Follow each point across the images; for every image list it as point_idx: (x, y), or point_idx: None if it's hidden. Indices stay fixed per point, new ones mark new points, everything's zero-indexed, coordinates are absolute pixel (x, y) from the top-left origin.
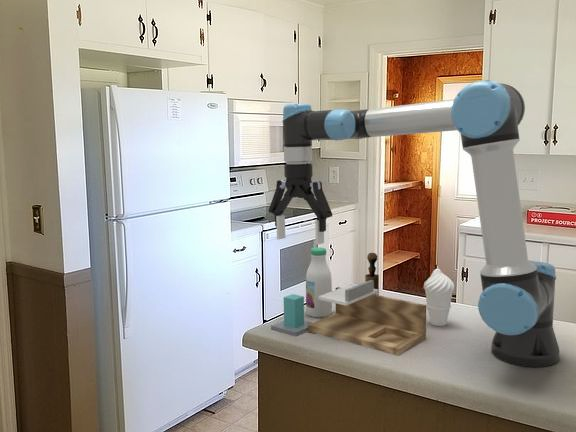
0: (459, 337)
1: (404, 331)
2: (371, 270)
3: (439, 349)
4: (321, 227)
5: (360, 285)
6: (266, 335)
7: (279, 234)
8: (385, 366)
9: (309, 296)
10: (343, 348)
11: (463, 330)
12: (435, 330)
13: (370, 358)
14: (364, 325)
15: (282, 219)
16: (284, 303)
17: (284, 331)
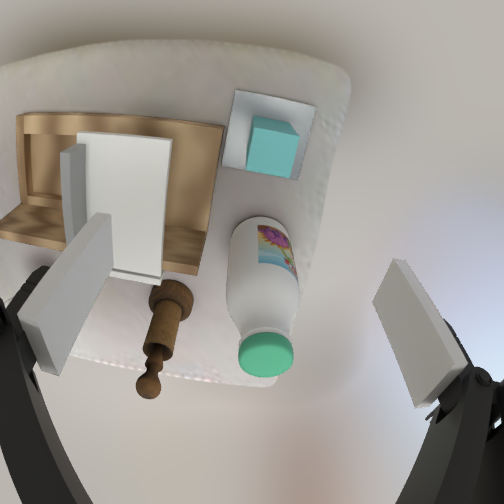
0: (10, 240)
1: (45, 198)
2: (151, 357)
3: (2, 181)
4: (33, 286)
5: (64, 214)
6: (303, 65)
7: (401, 279)
8: (25, 67)
9: (273, 240)
10: (110, 84)
11: (22, 269)
12: (43, 252)
13: (53, 77)
14: None
15: (419, 371)
16: (293, 132)
17: (272, 96)
